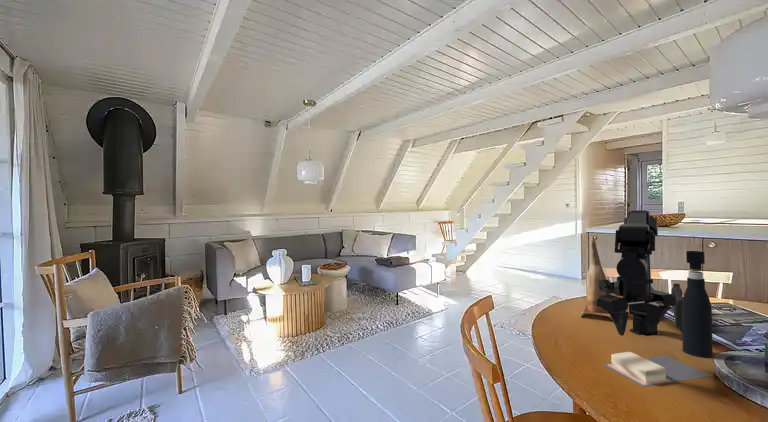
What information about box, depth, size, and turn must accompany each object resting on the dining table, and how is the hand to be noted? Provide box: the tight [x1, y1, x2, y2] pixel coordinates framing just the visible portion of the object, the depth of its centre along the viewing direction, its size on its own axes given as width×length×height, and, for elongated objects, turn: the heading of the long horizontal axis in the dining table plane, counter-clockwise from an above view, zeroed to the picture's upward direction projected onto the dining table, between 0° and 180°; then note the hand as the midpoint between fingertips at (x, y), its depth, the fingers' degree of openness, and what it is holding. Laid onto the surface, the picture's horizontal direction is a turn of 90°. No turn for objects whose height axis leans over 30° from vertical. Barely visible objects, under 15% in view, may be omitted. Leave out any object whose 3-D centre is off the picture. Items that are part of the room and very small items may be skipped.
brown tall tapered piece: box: [580, 235, 613, 321], centre depth 135 cm, size 11×12×32 cm
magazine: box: [670, 283, 684, 330], centre depth 127 cm, size 17×3×30 cm
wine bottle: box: [681, 250, 713, 359], centre depth 99 cm, size 6×6×30 cm
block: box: [610, 351, 666, 383], centre depth 90 cm, size 10×6×3 cm, turn 11°
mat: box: [602, 355, 713, 388], centre depth 91 cm, size 21×12×1 cm, turn 101°
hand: (636, 333), depth 90 cm, fingers open, 9 cm apart
